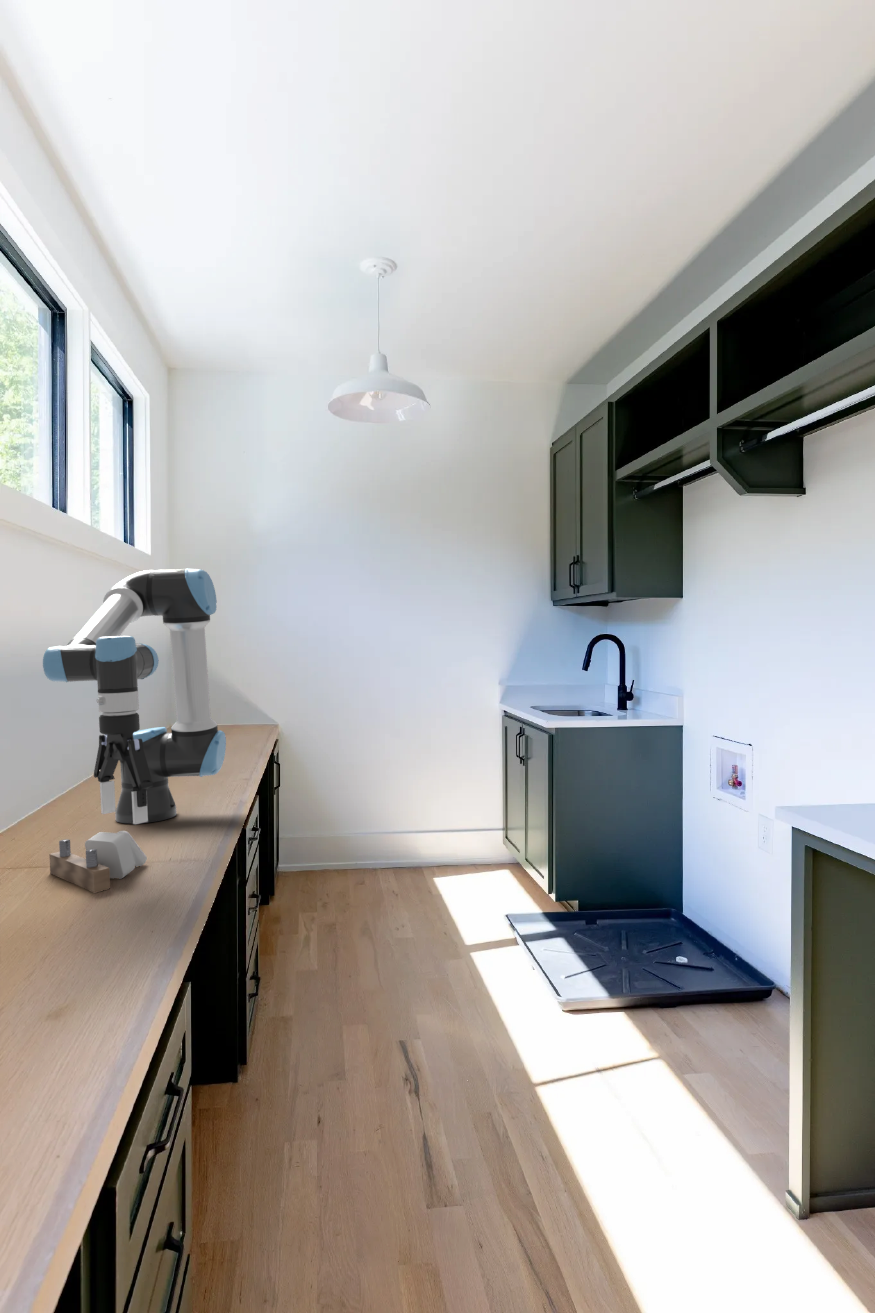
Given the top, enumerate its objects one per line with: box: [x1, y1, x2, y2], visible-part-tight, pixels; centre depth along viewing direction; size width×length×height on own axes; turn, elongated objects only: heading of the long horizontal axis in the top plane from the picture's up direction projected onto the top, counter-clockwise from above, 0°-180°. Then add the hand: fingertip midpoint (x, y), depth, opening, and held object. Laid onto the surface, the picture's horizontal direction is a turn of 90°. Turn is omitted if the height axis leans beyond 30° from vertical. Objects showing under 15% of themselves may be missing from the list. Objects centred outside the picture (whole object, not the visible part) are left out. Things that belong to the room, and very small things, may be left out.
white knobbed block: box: [84, 830, 148, 880], centre depth 165 cm, size 8×10×10 cm
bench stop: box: [48, 839, 111, 894], centre depth 159 cm, size 20×3×7 cm, turn 47°
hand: (124, 817), depth 164 cm, fingers open, 13 cm apart
